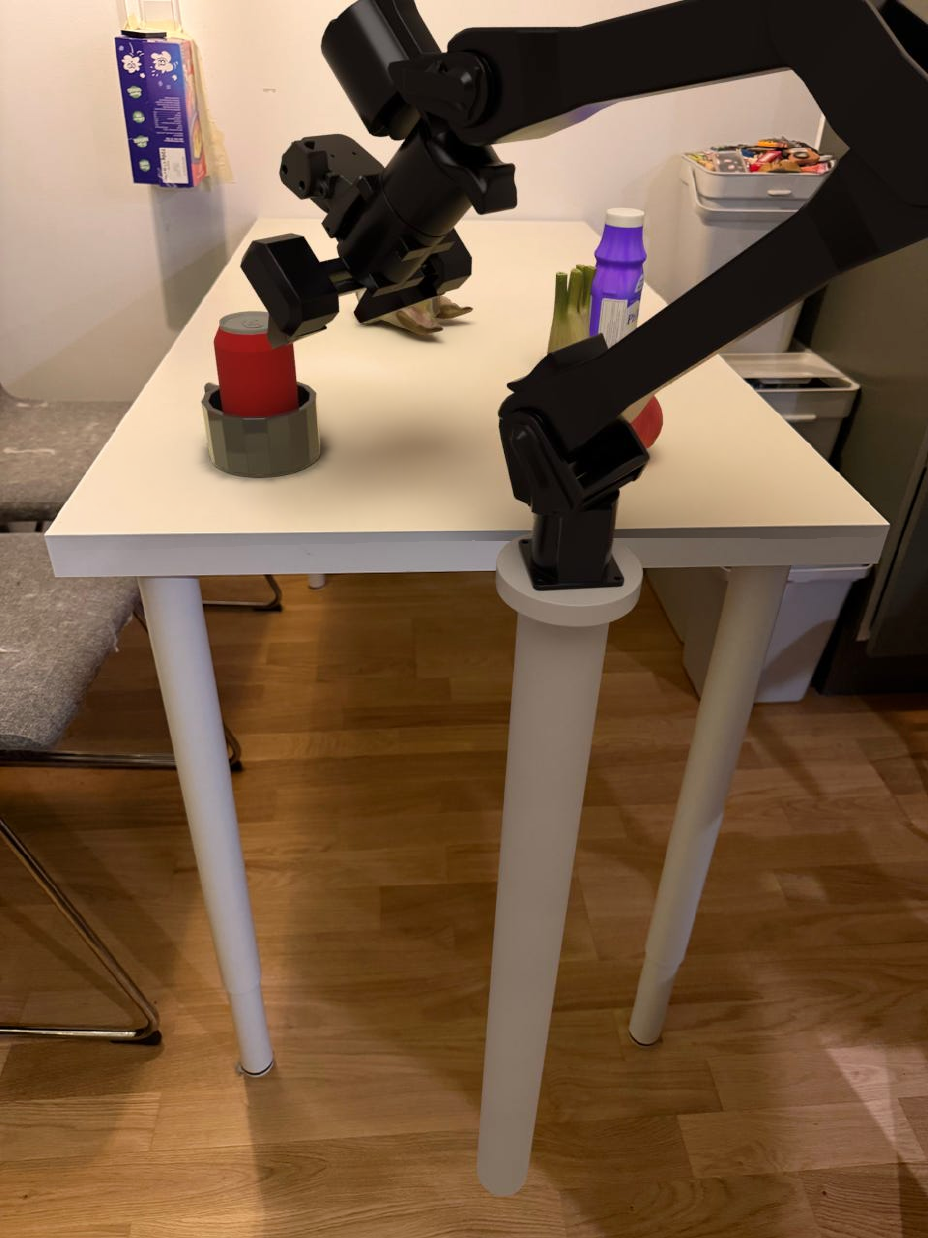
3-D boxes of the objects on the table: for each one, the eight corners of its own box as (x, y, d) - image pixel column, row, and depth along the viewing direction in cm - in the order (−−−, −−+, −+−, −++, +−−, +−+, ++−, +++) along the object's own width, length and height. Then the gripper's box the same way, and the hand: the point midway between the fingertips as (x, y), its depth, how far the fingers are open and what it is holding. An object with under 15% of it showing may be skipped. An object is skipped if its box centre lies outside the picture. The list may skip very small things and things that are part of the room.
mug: (342, 452, 83) (339, 396, 79) (258, 488, 76) (251, 428, 73) (253, 416, 89) (247, 362, 86) (169, 445, 83) (159, 389, 80)
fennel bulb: (548, 384, 98) (558, 272, 91) (536, 369, 102) (545, 260, 95) (598, 381, 99) (611, 270, 93) (584, 366, 103) (595, 259, 96)
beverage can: (290, 431, 86) (278, 305, 79) (312, 458, 81) (301, 326, 74) (220, 442, 83) (202, 313, 76) (238, 471, 78) (221, 335, 71)
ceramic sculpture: (374, 240, 116) (478, 261, 112) (373, 306, 121) (473, 329, 117) (333, 258, 108) (443, 281, 104) (333, 328, 113) (438, 353, 109)
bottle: (623, 385, 99) (646, 219, 89) (574, 378, 101) (591, 213, 91) (636, 365, 105) (659, 207, 95) (590, 359, 106) (607, 202, 96)
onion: (587, 464, 81) (596, 380, 77) (602, 441, 86) (613, 360, 81) (649, 476, 80) (663, 390, 75) (662, 452, 84) (675, 370, 80)
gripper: (446, 86, 64) (347, 225, 76) (240, 99, 52) (161, 262, 64) (526, 219, 64) (415, 337, 76) (341, 263, 52) (243, 394, 64)
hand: (316, 330), depth 70 cm, fingers open, 9 cm apart
